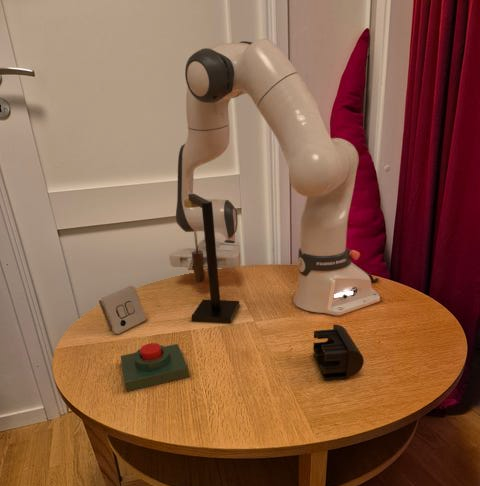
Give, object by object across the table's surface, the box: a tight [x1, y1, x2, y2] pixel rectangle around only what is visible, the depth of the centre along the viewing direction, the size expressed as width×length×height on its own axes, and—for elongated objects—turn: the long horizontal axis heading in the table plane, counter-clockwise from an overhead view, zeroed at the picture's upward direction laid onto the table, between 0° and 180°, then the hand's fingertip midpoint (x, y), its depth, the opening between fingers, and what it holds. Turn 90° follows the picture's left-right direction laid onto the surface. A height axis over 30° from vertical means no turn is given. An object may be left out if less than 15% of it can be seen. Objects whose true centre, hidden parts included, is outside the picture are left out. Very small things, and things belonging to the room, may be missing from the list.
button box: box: [120, 343, 190, 392], centre depth 82 cm, size 12×10×4 cm
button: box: [139, 342, 162, 360], centre depth 80 cm, size 4×4×2 cm
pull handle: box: [192, 229, 207, 283], centre depth 109 cm, size 3×3×14 cm
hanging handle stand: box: [184, 193, 241, 324], centre depth 101 cm, size 14×17×28 cm
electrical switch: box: [98, 285, 147, 335], centre depth 99 cm, size 9×5×9 cm, turn 141°
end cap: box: [312, 324, 364, 382], centre depth 79 cm, size 10×7×7 cm
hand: (197, 267), depth 110 cm, fingers closed on pull handle, 3 cm apart
